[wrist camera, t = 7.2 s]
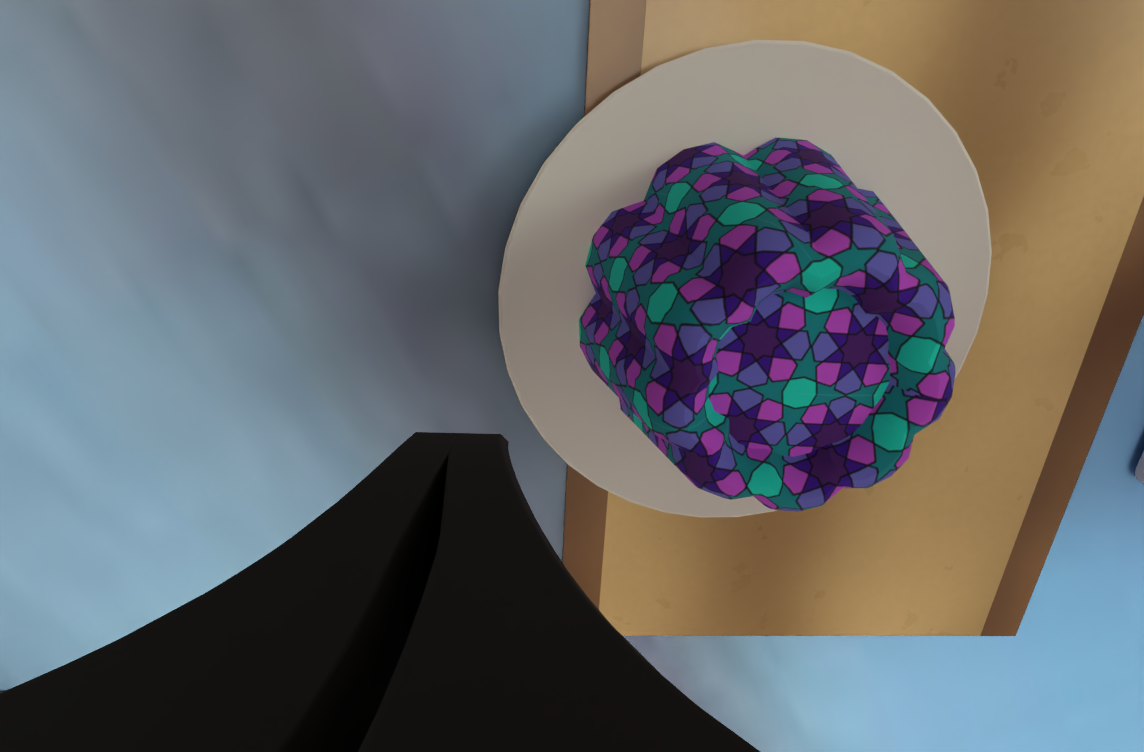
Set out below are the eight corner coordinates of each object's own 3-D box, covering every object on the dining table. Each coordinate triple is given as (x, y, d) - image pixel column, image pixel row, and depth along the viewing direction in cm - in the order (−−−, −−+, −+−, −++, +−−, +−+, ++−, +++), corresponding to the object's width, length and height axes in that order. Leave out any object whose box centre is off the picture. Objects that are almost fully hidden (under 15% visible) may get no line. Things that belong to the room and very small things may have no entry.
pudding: (893, 514, 20) (1003, 650, 15) (486, 488, 19) (469, 625, 14) (1047, 74, 16) (1276, 73, 11) (518, 8, 14) (508, -25, 10)
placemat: (1343, -203, 14) (1350, -205, 14) (1013, 633, 23) (1015, 636, 22) (602, -261, 13) (603, -264, 13) (559, 632, 22) (558, 635, 22)
